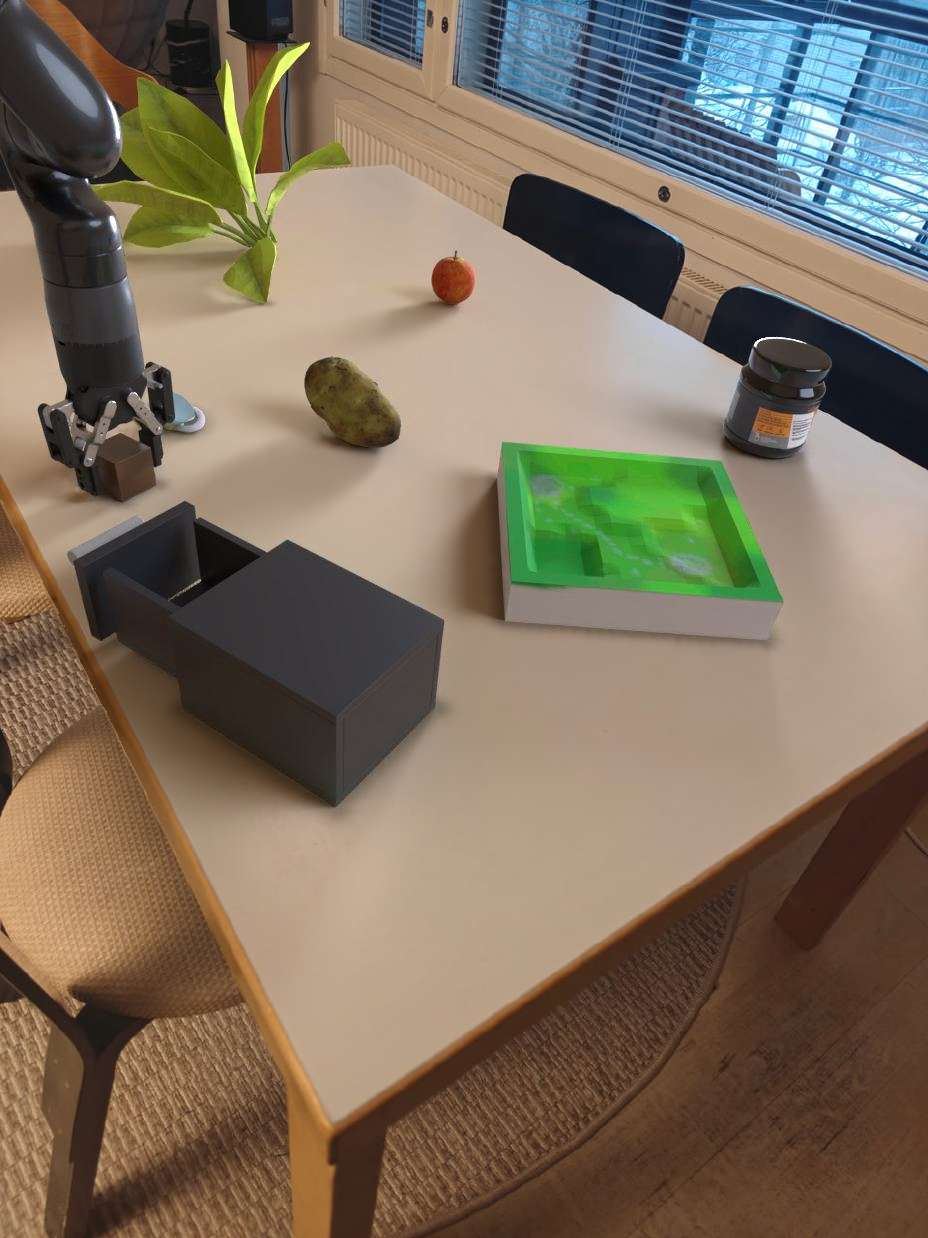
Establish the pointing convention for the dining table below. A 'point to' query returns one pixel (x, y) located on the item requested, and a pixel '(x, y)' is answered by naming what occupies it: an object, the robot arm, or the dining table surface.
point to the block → (125, 467)
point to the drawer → (153, 576)
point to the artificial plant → (207, 172)
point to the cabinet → (307, 666)
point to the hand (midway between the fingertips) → (123, 477)
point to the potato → (351, 403)
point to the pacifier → (185, 416)
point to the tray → (629, 544)
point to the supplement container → (777, 397)
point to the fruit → (453, 279)
